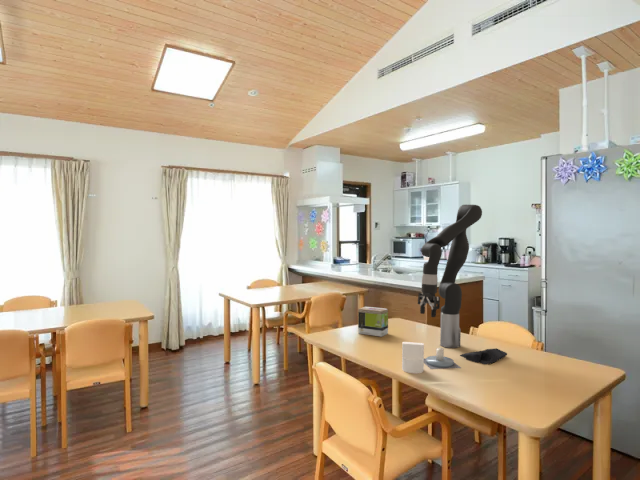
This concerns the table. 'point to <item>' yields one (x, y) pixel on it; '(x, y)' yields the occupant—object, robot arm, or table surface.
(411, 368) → the white cylinder
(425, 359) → the mat
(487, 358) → the dark slate chunk
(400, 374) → the table surface
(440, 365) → the lid
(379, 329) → the tea box
